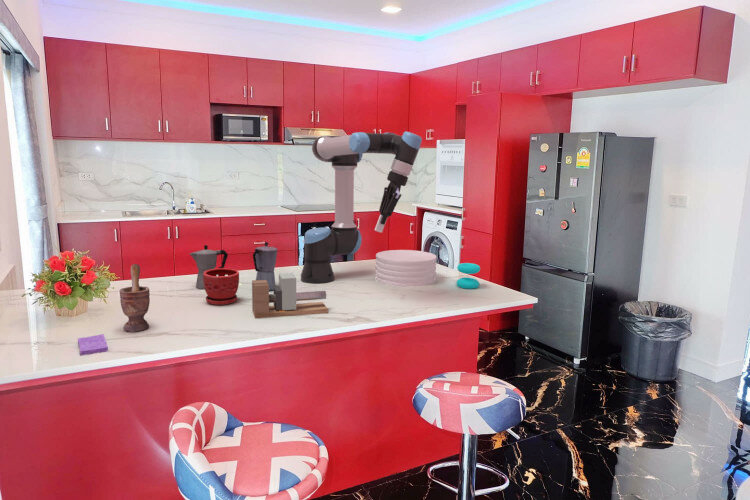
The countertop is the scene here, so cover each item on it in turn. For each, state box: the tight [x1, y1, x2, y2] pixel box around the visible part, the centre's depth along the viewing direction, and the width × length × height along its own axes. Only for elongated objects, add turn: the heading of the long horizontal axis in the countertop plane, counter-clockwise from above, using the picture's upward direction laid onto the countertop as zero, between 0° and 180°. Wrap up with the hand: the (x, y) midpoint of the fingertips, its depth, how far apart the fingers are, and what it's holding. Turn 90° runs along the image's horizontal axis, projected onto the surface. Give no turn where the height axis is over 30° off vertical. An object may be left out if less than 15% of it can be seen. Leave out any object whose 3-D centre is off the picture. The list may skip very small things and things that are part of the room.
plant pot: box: [203, 267, 240, 306], centre depth 198 cm, size 13×13×12 cm
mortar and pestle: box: [119, 263, 151, 333], centre depth 167 cm, size 12×9×20 cm
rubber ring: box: [273, 285, 282, 310], centre depth 187 cm, size 7×2×7 cm, turn 18°
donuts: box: [456, 262, 481, 290], centre depth 231 cm, size 10×10×10 cm
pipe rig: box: [251, 279, 329, 319], centre depth 188 cm, size 9×26×12 cm, turn 108°
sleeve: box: [278, 272, 297, 310], centre depth 187 cm, size 8×5×12 cm, turn 18°
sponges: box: [77, 333, 109, 356], centre depth 152 cm, size 7×13×2 cm, turn 32°
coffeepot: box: [189, 244, 229, 290], centre depth 220 cm, size 15×9×18 cm, turn 113°
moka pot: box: [252, 241, 279, 292], centre depth 217 cm, size 10×15×20 cm, turn 161°
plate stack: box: [375, 249, 437, 288], centre depth 242 cm, size 28×28×12 cm
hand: (378, 231), depth 200 cm, fingers closed
